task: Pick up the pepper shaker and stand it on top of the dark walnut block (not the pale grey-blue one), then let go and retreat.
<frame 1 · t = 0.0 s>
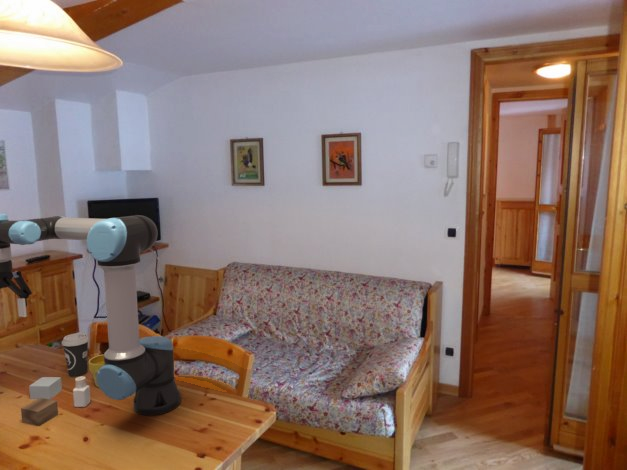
hand: (4, 322, 152), 28 cm above the table, fingers open, 13 cm apart
pepper shaker: (82, 405, 153), on the table
plant pot: (105, 384, 169), on the table
coffee cup: (78, 373, 178), on the table
grey-blue block: (46, 394, 161), on the table
walnut block: (40, 419, 145), on the table
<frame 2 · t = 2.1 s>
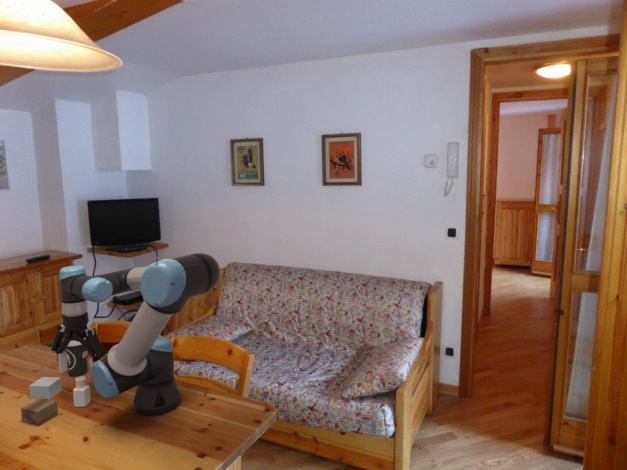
hand: (79, 374, 152), 11 cm above the table, fingers open, 13 cm apart
nothing on the table moved.
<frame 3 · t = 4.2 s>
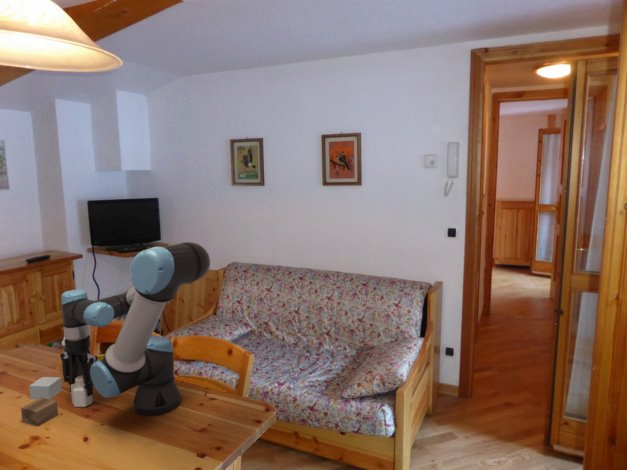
hand: (82, 402, 153), 1 cm above the table, fingers closed on pepper shaker, 5 cm apart
pepper shaker: (82, 405, 153), on the table, touching gripper
everything else where it was.
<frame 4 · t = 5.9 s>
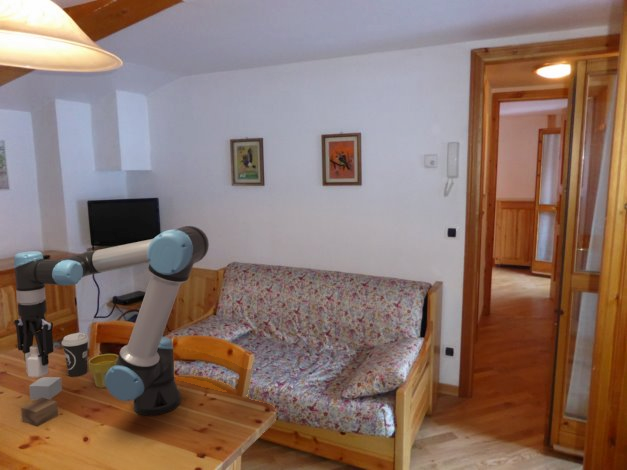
hand: (37, 373, 143), 15 cm above the table, fingers closed on pepper shaker, 5 cm apart
pepper shaker: (37, 375, 144), point 14 cm above the table, touching gripper
everything else where it was.
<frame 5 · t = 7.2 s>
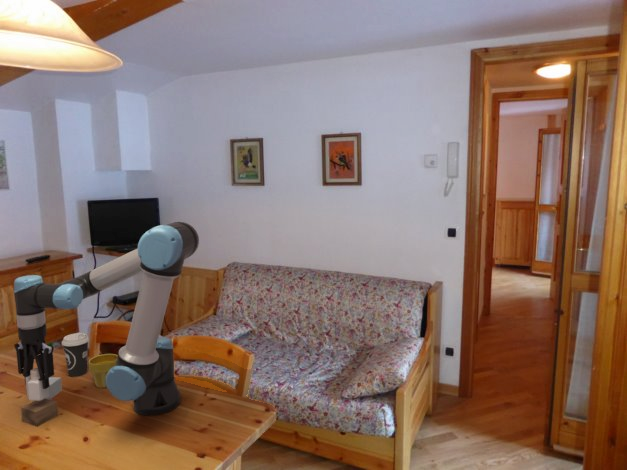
hand: (38, 396, 144), 8 cm above the table, fingers closed on pepper shaker, 5 cm apart
pepper shaker: (38, 398, 144), point 7 cm above the table, touching gripper
everything else where it was.
when the fingers open (7 cm above the table, at t = 8.0 s): pepper shaker drops 1 cm, resting on walnut block.
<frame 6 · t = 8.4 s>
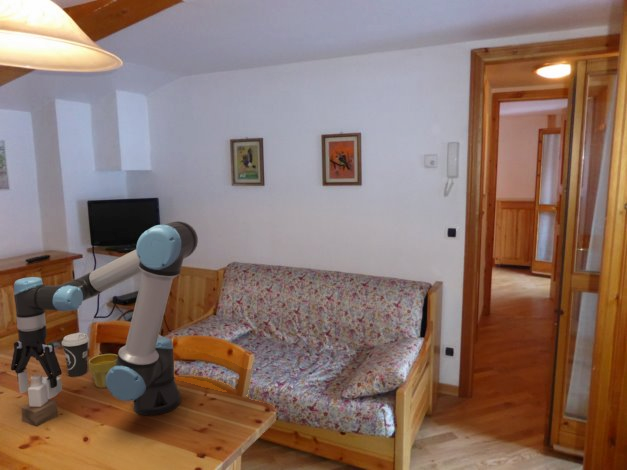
hand: (38, 394, 144), 8 cm above the table, fingers open, 11 cm apart
pepper shaker: (39, 405, 144), point 5 cm above the table, touching walnut block
walnut block: (40, 419, 145), on the table, touching pepper shaker
everything else where it was.
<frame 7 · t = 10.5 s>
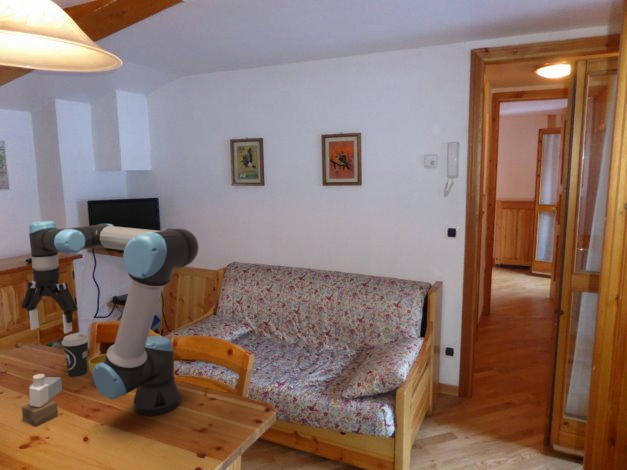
hand: (51, 330, 152), 25 cm above the table, fingers open, 13 cm apart
pepper shaker: (39, 404, 144), point 5 cm above the table
walnut block: (40, 419, 145), on the table
everything else where it was.
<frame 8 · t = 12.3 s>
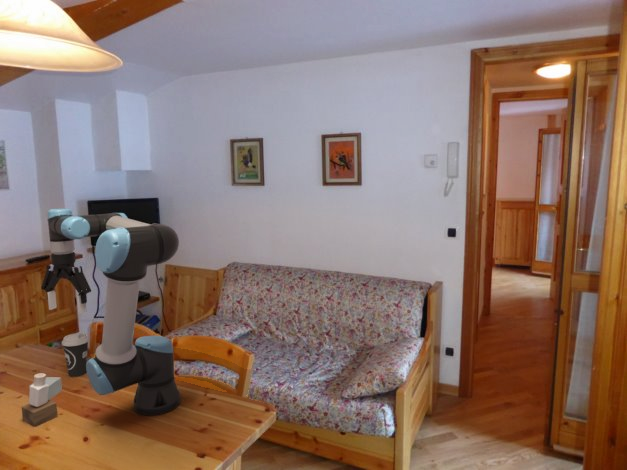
hand: (67, 310, 163), 29 cm above the table, fingers open, 13 cm apart
nothing on the table moved.
at the end: pepper shaker 0.2 cm off-centre on the walnut block, point 5.0 cm above the walnut block's base; pepper shaker tilted 4°; the gripper is holding nothing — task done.
